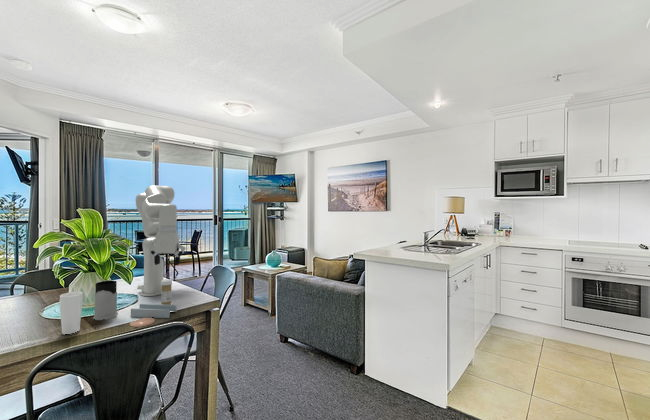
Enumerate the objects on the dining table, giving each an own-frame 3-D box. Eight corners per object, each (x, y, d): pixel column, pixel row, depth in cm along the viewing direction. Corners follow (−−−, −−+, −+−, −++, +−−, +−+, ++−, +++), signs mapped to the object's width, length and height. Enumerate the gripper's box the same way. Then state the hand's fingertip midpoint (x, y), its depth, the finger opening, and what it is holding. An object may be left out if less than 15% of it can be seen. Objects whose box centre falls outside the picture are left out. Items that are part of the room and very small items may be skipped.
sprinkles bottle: (169, 305, 145) (170, 278, 144) (172, 307, 141) (173, 280, 141) (159, 307, 141) (160, 279, 141) (162, 309, 138) (162, 282, 138)
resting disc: (124, 326, 119) (124, 325, 119) (139, 318, 128) (139, 317, 128) (146, 327, 119) (146, 326, 119) (159, 318, 128) (159, 317, 128)
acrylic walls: (130, 316, 129) (130, 308, 129) (140, 311, 136) (140, 303, 136) (168, 318, 129) (168, 310, 129) (176, 312, 136) (176, 304, 136)
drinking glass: (54, 335, 110) (54, 296, 109) (72, 327, 116) (73, 290, 116) (68, 337, 109) (69, 297, 108) (86, 329, 115) (87, 292, 115)
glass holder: (89, 321, 123) (90, 286, 123) (102, 309, 137) (103, 277, 136) (113, 318, 126) (114, 284, 126) (124, 307, 140) (124, 276, 139)
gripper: (145, 229, 137) (144, 265, 137) (181, 230, 137) (180, 266, 137) (154, 228, 144) (154, 262, 144) (189, 229, 144) (188, 263, 144)
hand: (167, 264), depth 141 cm, fingers open, 9 cm apart
